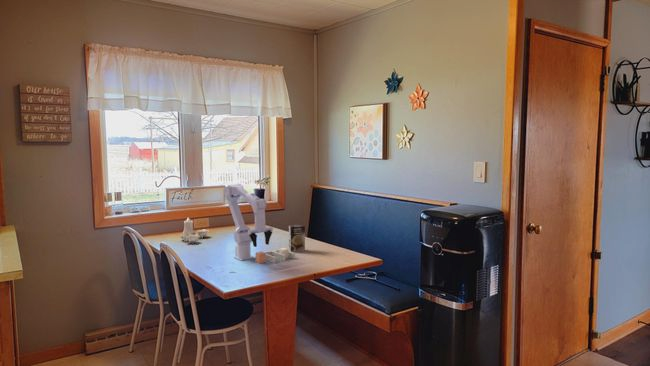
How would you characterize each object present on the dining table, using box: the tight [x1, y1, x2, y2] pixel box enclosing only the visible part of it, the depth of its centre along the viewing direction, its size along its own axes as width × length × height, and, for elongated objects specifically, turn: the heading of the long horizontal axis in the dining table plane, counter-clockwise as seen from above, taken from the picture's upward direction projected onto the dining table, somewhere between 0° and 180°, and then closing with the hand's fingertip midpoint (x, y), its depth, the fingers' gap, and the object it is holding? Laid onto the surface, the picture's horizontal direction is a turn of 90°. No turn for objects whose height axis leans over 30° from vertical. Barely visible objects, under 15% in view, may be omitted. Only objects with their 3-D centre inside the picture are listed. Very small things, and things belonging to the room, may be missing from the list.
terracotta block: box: [254, 251, 267, 264], centre depth 242 cm, size 4×4×6 cm
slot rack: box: [263, 248, 297, 264], centre depth 250 cm, size 16×15×4 cm
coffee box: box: [288, 224, 306, 253], centre depth 268 cm, size 9×6×16 cm
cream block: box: [278, 247, 289, 258], centre depth 252 cm, size 4×4×5 cm
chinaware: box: [180, 217, 210, 244], centre depth 302 cm, size 28×17×17 cm, turn 179°
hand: (261, 245), depth 241 cm, fingers open, 7 cm apart
